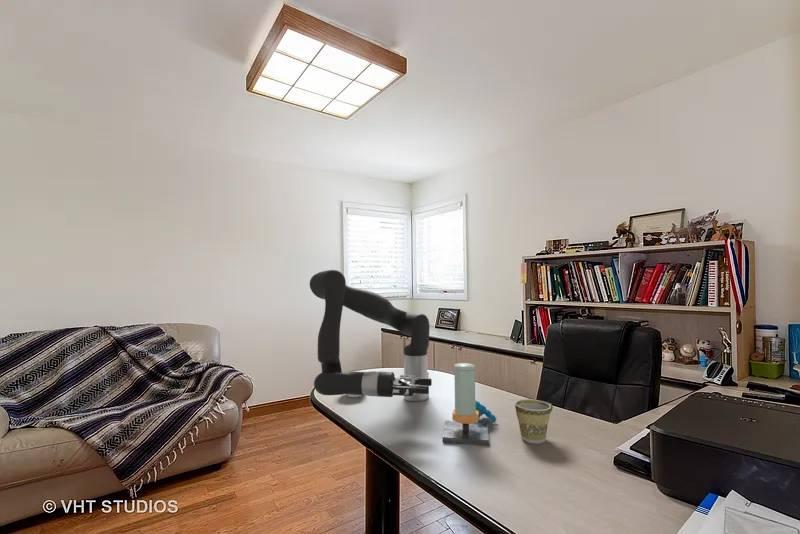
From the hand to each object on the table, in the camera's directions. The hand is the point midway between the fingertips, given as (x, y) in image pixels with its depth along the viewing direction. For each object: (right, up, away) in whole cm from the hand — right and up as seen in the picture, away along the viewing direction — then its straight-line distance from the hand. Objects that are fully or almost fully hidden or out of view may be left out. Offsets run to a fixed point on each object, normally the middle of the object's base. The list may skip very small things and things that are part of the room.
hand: (430, 385), depth 119 cm
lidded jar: (-28, -16, +39) cm, 50 cm away
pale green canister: (+10, -7, -2) cm, 13 cm away
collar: (+10, -9, -2) cm, 14 cm away
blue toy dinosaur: (+18, -15, +9) cm, 25 cm away
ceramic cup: (+31, -14, -5) cm, 34 cm away
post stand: (+11, -14, -2) cm, 18 cm away
